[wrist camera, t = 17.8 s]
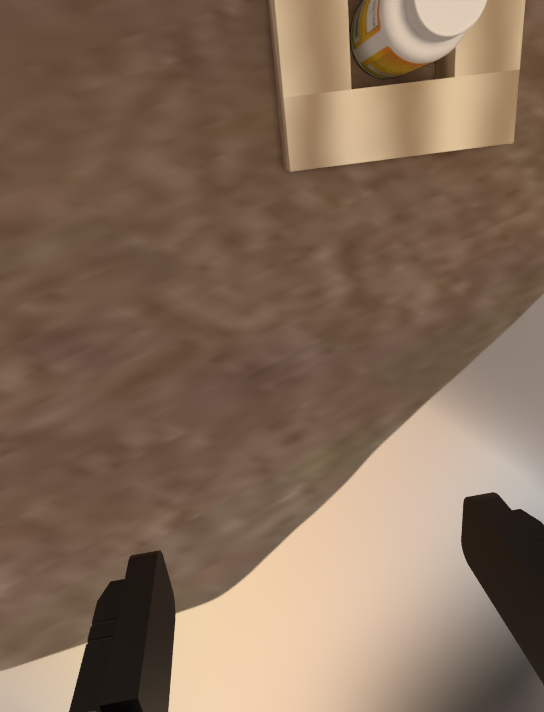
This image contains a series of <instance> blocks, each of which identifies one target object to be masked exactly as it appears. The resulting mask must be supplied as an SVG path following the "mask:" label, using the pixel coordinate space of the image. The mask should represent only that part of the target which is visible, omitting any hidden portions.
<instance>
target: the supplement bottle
mask: <svg viewBox="0 0 544 712" xmlns="http://www.w3.org/2000/svg"><path fill="white" fill-rule="evenodd" d="M486 2H487V0H363V1H362V2H361V4H360V5H359V7H358V9H357V11H356V13H355V15H354V18H353V21H352V26H351V46H352V51H353V54H354V56H355V58H356V60H357V62H358V63H359V65H360V66H361V67H362V68H363V69H364V70H365V71H366V72H367V73H369V74H370V75H372V76H374V77H377V78H382V79H390V78H395V77H398V76H401V75H403V74H406V73H408V72H410V71H413V70H415V69H417V68H420V67H422V66H424V65H427V64H429V63H431V62H434V61H436V60H438V59H440V58H442V57H443V56H445V55H447V54H448V53H449V52H451V51H452V50H453V49H454V48H455V47H456V46H457V45H458V44H459V42H460V41H461V40H462V38H463V37H464V35H465V34H466V32H467V30H468V29H469V28H470V27H471V26H472V25H473V24H474V23H475V22H476V21H477V20H478V18H479V17H480V15H481V14H482V12H483V10H484V8H485V5H486Z"/></svg>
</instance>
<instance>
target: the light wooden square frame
mask: <svg viewBox="0 0 544 712" xmlns="http://www.w3.org/2000/svg"><path fill="white" fill-rule="evenodd" d="M268 10H269V20H270V30H271V41H272V51H273V61H274V71H275V82H276V92H277V102H278V112H279V123H280V133H281V143H282V153H283V164H284V171H289V172H292V171H300V170H308V169H315V168H323V167H331V166H339V165H346V164H354V163H362V162H370V161H377V160H385V159H393V158H401V157H408V156H416V155H424V154H431V153H439V152H447V151H455V150H462V149H470V148H478V147H486V146H493V145H501V144H509V143H514V131H515V119H516V107H517V95H518V83H519V70H520V58H521V46H522V34H523V22H524V10H525V0H487V2H486V5H485V8H484V10H483V12H482V14H481V15H480V17H479V18H478V20H477V21H476V22H475V23H474V24H473V25H472V26H471V27H470V28H469V29H468V30H467V32H466V34H465V35H464V37H463V38H462V40H461V41H460V42H459V44H458V45H457V46H456V47H455V48H454V49H453V50H452V51H451V52H449V53H448V54H447V55H445V56H443V57H442V58H440V59H438V60H436V63H435V80H427V81H418V82H410V83H402V84H393V85H385V86H376V87H368V88H360V89H351V67H350V43H349V19H348V0H268Z"/></svg>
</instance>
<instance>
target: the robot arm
mask: <svg viewBox="0 0 544 712" xmlns="http://www.w3.org/2000/svg"><path fill="white" fill-rule="evenodd" d="M461 543H462V549H463V553H464V556H465V559H466V561H467V563H468V565H469V566H470V568H471V570H472V571H473V573H474V575H475V576H476V578H477V579H478V581H479V583H480V584H481V586H482V587H483V589H484V591H485V592H486V594H487V595H488V597H489V598H490V600H491V602H492V603H493V605H494V606H495V608H496V610H497V611H498V613H499V614H500V616H501V618H502V619H503V621H504V622H505V624H506V626H507V627H508V629H509V630H510V632H511V633H512V635H513V637H514V638H515V640H516V641H517V643H518V645H519V646H520V648H521V649H522V651H523V653H524V654H525V656H526V657H527V659H528V660H529V662H530V664H531V665H532V667H533V668H534V670H535V671H536V673H537V675H538V676H539V678H540V680H541V681H542V683H543V684H544V525H543V524H542V523H541V521H539V520H537V519H536V518H534V517H533V516H531V515H529V514H528V513H526V512H524V511H523V510H521V509H517V510H511V509H510V508H509V507H508V506H507V504H506V503H505V502H504V501H503V500H502V498H501V497H500V496H499V495H498V494H496V493H494V492H493V493H487V494H482V495H476V496H470V497H466V498H465V499H464V504H463V521H462V536H461ZM174 629H175V600H174V594H173V589H172V586H171V582H170V579H169V575H168V571H167V568H166V564H165V561H164V557H163V554H162V552H161V551H160V550H159V551H154V552H148V553H142V554H137V555H131V556H130V558H129V561H128V566H127V571H126V576H125V579H122V580H117V581H111V582H110V583H109V585H108V586H107V588H106V589H105V591H104V592H103V594H102V595H101V597H100V598H99V600H98V601H97V605H96V609H95V613H94V616H93V620H92V626H91V628H90V632H89V636H88V644H86V648H85V652H84V656H83V660H82V663H81V667H80V672H79V675H78V679H77V683H76V687H75V691H74V695H73V699H72V703H71V707H70V711H69V712H168V707H169V694H170V681H171V668H172V655H173V642H174Z"/></svg>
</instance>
